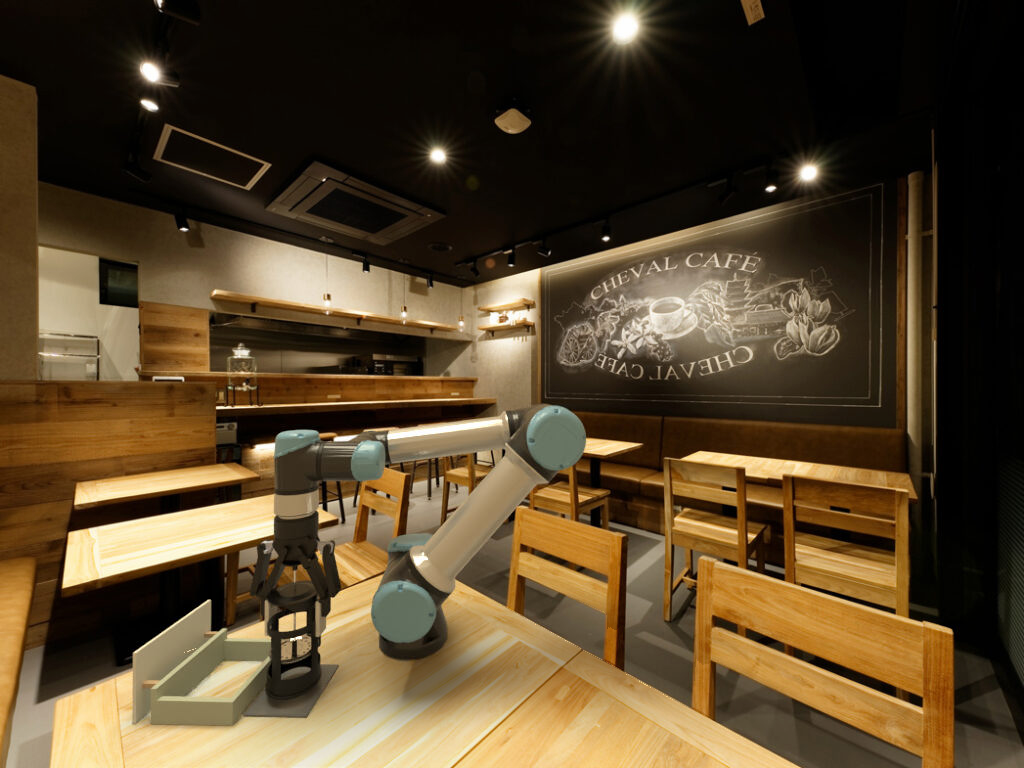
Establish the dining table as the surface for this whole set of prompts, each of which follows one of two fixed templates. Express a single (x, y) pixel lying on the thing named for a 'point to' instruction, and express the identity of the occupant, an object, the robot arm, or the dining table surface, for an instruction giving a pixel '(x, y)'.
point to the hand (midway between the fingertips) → (295, 631)
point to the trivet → (293, 706)
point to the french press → (293, 639)
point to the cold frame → (193, 673)
